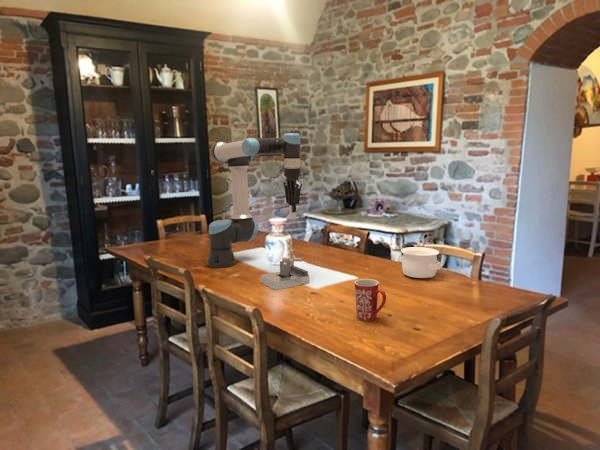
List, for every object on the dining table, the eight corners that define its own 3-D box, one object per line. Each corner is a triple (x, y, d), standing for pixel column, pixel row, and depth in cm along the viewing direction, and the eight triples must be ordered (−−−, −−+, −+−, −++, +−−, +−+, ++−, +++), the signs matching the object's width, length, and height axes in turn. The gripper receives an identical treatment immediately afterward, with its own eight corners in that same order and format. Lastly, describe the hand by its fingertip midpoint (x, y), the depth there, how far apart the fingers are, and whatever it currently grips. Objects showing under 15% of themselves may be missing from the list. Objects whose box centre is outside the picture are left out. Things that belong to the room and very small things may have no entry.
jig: (260, 282, 218) (260, 270, 217) (293, 276, 227) (293, 265, 226) (275, 290, 206) (275, 277, 205) (309, 283, 216) (309, 271, 215)
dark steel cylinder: (278, 282, 217) (277, 261, 215) (287, 280, 220) (286, 260, 218) (283, 285, 213) (283, 263, 211) (292, 283, 216) (292, 262, 214)
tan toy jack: (299, 272, 234) (299, 252, 232) (280, 271, 236) (280, 252, 234) (303, 267, 243) (303, 248, 242) (285, 266, 245) (284, 247, 244)
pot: (449, 277, 223) (450, 252, 221) (429, 284, 212) (430, 258, 209) (410, 268, 239) (411, 244, 237) (389, 274, 228) (390, 250, 226)
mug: (348, 317, 173) (349, 282, 171) (364, 311, 179) (364, 277, 177) (376, 326, 164) (376, 289, 162) (391, 319, 170) (392, 284, 168)
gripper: (277, 167, 217) (278, 217, 221) (292, 168, 206) (293, 221, 210) (291, 166, 221) (292, 216, 225) (306, 168, 210) (307, 220, 214)
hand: (292, 218), depth 218 cm, fingers closed
